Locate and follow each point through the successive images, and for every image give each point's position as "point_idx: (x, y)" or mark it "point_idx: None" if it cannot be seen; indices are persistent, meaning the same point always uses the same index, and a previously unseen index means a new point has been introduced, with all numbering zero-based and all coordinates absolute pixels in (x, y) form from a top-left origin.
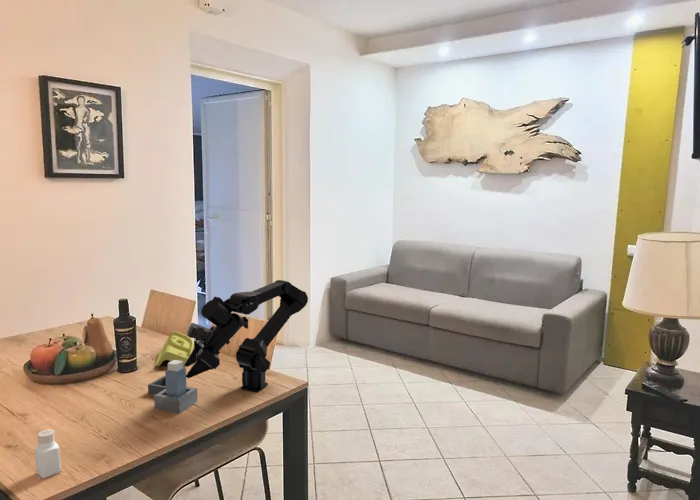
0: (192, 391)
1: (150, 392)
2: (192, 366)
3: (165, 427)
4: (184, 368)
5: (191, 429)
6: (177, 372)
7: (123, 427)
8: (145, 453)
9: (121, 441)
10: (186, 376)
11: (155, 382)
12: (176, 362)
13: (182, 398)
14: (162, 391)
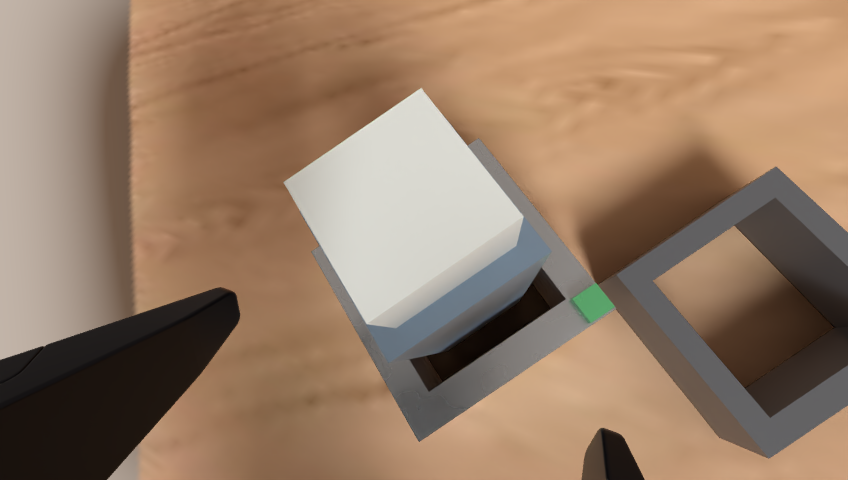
0: (385, 382)
1: (724, 199)
2: (67, 360)
3: (257, 169)
4: (375, 337)
5: (163, 259)
6: (303, 217)
7: (374, 27)
8: (134, 66)
9: (267, 10)
10: (219, 292)
11: (803, 226)
12: (367, 207)
13: (327, 279)
14: (515, 198)
